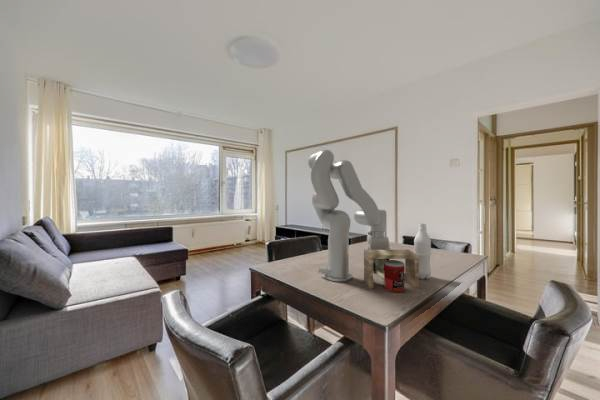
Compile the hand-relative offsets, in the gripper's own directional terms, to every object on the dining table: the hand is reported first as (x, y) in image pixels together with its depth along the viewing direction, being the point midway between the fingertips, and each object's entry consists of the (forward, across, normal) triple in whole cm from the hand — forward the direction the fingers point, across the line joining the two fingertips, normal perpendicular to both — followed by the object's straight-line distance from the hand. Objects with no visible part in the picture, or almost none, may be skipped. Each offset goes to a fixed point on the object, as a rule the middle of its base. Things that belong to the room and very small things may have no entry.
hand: (378, 270), depth 123 cm
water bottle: (+1, +18, -8) cm, 20 cm away
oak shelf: (+1, 0, -17) cm, 17 cm away
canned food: (+1, 0, -22) cm, 22 cm away
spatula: (+1, 0, -8) cm, 8 cm away
